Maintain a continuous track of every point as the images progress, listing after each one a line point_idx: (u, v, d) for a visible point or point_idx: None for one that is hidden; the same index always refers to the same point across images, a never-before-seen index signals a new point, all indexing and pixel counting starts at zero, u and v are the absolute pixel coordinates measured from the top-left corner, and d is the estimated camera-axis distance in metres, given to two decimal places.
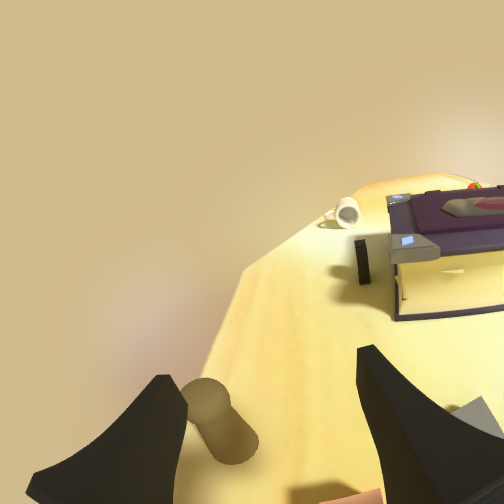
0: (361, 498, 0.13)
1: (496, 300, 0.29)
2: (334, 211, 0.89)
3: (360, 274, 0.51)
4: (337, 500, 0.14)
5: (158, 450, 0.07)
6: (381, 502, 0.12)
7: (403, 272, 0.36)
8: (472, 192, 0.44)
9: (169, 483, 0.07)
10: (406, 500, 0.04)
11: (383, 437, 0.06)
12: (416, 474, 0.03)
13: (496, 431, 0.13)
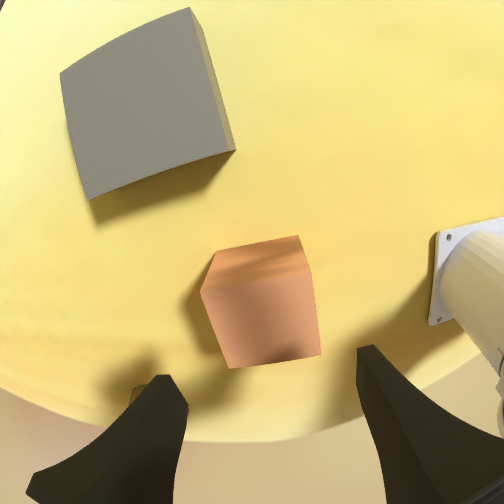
0: (220, 319, 0.13)
1: None
2: None
3: None
4: (223, 349, 0.13)
5: (158, 450, 0.07)
6: (232, 289, 0.12)
7: None
8: None
9: (169, 483, 0.07)
10: (406, 500, 0.04)
11: (383, 437, 0.06)
12: (416, 474, 0.03)
13: (138, 36, 0.09)
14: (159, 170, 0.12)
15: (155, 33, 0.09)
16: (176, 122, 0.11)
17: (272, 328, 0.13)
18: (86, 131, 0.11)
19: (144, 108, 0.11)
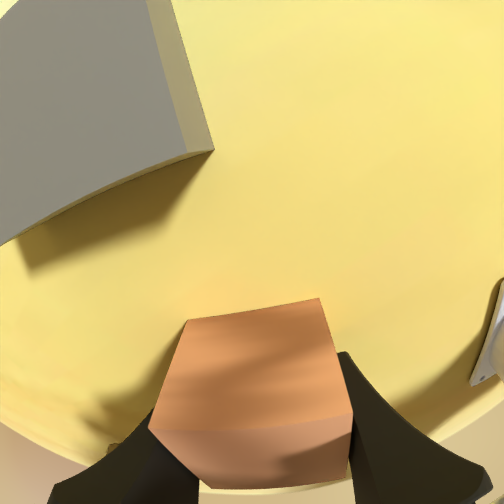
0: (189, 456, 0.06)
1: None
2: None
3: None
4: (200, 477, 0.07)
5: None
6: (203, 433, 0.05)
7: None
8: None
9: (194, 486, 0.07)
10: None
11: (351, 446, 0.06)
12: (371, 489, 0.04)
13: None
14: (63, 203, 0.05)
15: None
16: (85, 104, 0.04)
17: (274, 467, 0.06)
18: None
19: (39, 90, 0.04)
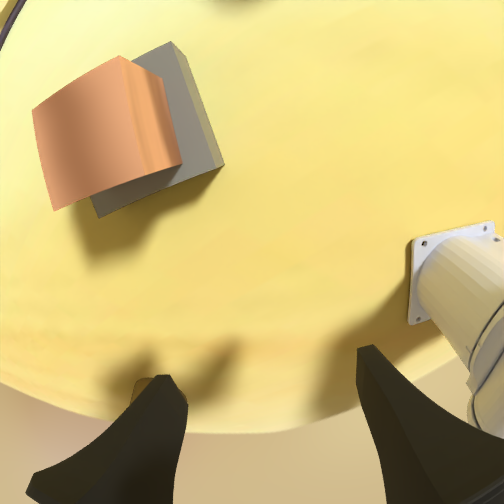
0: (43, 136, 0.08)
1: None
2: None
3: None
4: (46, 179, 0.09)
5: (158, 449, 0.07)
6: (53, 96, 0.08)
7: None
8: None
9: (169, 483, 0.07)
10: (406, 500, 0.04)
11: (383, 437, 0.06)
12: (416, 474, 0.03)
13: None
14: (159, 189, 0.14)
15: None
16: None
17: (84, 137, 0.08)
18: None
19: None
